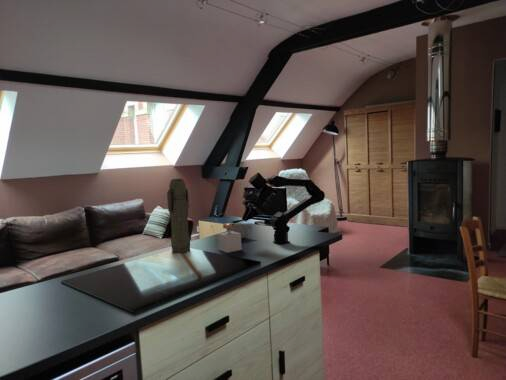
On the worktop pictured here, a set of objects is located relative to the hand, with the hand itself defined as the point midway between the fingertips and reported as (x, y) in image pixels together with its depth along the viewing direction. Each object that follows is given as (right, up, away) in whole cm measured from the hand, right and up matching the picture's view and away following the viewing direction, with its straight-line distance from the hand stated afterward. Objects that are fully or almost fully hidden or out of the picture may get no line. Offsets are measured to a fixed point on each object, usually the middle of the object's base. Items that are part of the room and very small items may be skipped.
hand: (243, 220), depth 188 cm
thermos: (-30, -15, -1) cm, 34 cm away
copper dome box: (-6, -14, -2) cm, 16 cm away
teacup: (-3, -12, +23) cm, 26 cm away
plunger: (-7, -8, -2) cm, 11 cm away
